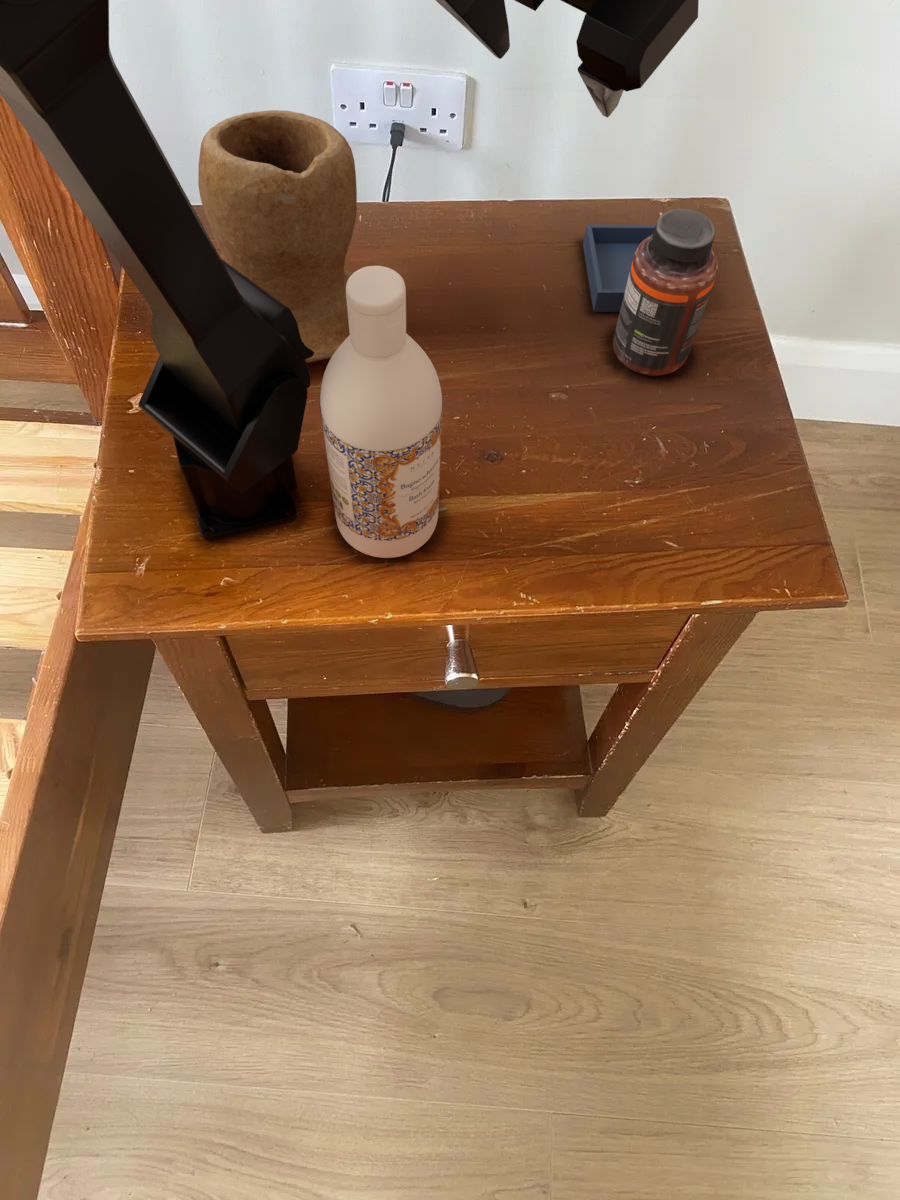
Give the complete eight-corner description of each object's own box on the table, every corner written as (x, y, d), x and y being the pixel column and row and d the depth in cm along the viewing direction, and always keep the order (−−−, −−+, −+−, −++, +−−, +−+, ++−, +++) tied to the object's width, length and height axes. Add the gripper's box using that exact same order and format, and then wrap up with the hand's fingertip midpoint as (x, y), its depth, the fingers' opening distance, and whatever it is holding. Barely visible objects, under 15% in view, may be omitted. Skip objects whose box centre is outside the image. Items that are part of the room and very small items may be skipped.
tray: (593, 312, 71) (597, 292, 69) (582, 244, 75) (586, 224, 73) (692, 312, 71) (698, 292, 69) (676, 245, 75) (682, 224, 73)
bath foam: (383, 580, 58) (368, 359, 40) (315, 516, 60) (274, 280, 43) (459, 521, 60) (476, 288, 43) (391, 461, 63) (381, 217, 45)
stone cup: (361, 261, 73) (349, 78, 60) (391, 366, 67) (385, 190, 54) (174, 286, 70) (119, 103, 57) (189, 398, 65) (131, 222, 52)
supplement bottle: (686, 327, 70) (730, 202, 60) (688, 383, 67) (735, 261, 57) (611, 320, 70) (643, 193, 60) (609, 375, 67) (643, 252, 58)
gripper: (777, -221, 41) (749, 44, 56) (478, -332, 47) (524, -65, 62) (627, -35, 41) (639, 181, 56) (345, -168, 47) (424, 59, 62)
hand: (555, 81), depth 59 cm, fingers open, 9 cm apart
